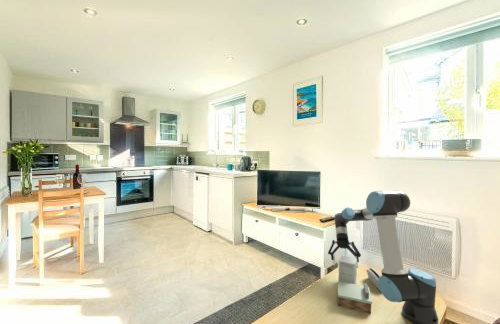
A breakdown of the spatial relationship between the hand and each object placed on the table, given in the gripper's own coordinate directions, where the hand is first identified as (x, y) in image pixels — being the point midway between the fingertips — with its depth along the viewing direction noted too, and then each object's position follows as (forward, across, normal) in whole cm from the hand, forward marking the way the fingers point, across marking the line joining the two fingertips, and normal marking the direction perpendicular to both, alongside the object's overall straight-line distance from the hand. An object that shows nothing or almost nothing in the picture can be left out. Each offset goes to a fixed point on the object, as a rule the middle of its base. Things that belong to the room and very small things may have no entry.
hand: (345, 266), depth 154 cm
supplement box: (+10, -1, -5) cm, 12 cm away
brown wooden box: (+22, 0, +6) cm, 23 cm away
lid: (+18, 0, +10) cm, 21 cm away
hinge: (+7, -19, -9) cm, 22 cm away
